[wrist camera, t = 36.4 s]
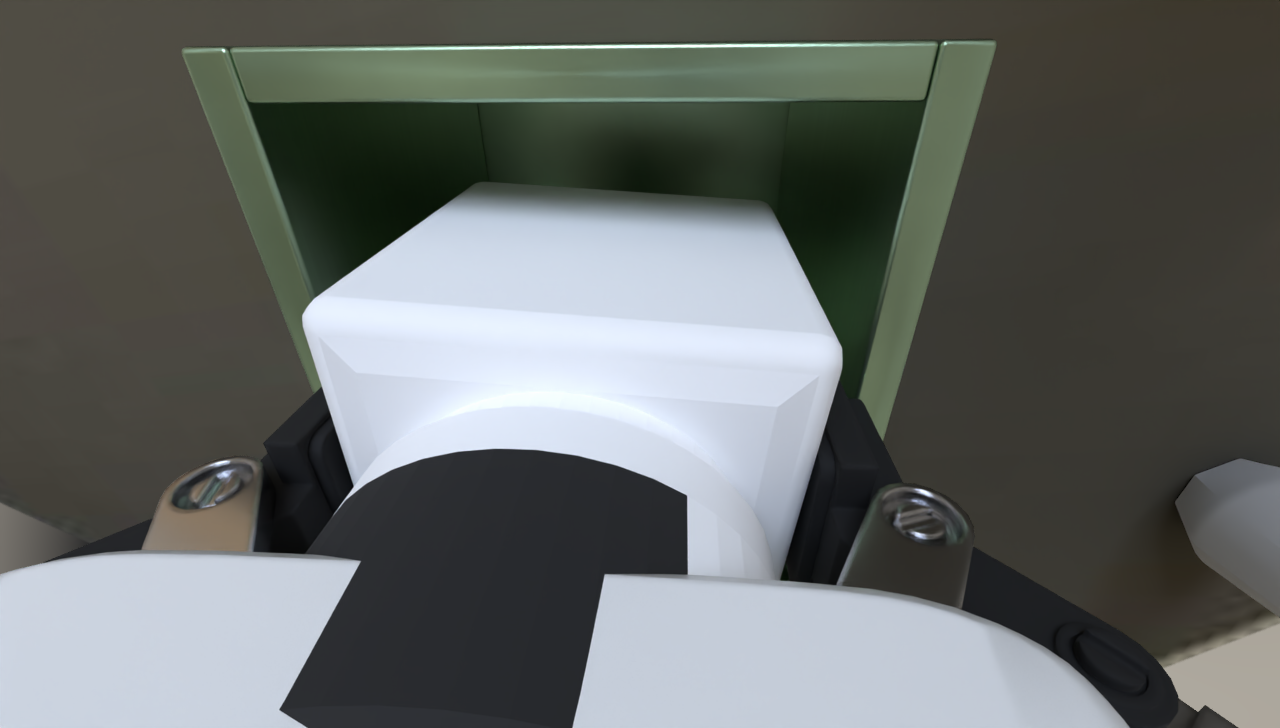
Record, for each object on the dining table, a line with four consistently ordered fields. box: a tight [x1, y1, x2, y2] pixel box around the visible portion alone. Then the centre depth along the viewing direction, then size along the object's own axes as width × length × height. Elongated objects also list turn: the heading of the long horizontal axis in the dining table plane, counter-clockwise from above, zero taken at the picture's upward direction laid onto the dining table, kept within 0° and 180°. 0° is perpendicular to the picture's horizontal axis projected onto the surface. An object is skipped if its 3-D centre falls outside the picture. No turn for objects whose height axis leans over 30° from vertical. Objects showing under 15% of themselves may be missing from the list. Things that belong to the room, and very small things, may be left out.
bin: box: [182, 39, 997, 581], centre depth 17 cm, size 16×12×12 cm
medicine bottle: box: [279, 182, 843, 728], centre depth 9 cm, size 7×7×12 cm
